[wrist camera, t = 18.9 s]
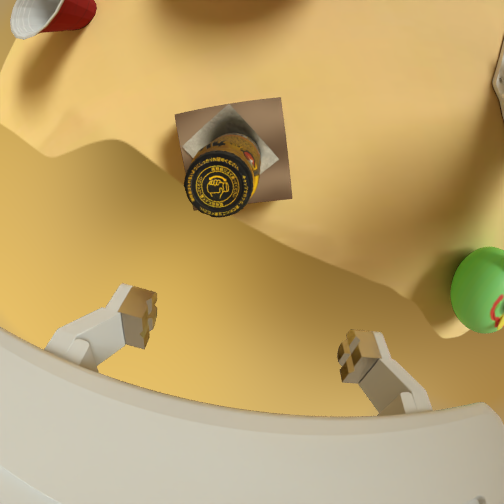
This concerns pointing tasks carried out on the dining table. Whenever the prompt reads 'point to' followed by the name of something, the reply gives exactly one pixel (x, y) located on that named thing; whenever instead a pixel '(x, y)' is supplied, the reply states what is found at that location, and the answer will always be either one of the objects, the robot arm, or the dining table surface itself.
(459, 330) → the dining table surface
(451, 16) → the dining table surface
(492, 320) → the toy bird
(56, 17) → the plastic cup
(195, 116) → the walnut block
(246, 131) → the condiment
